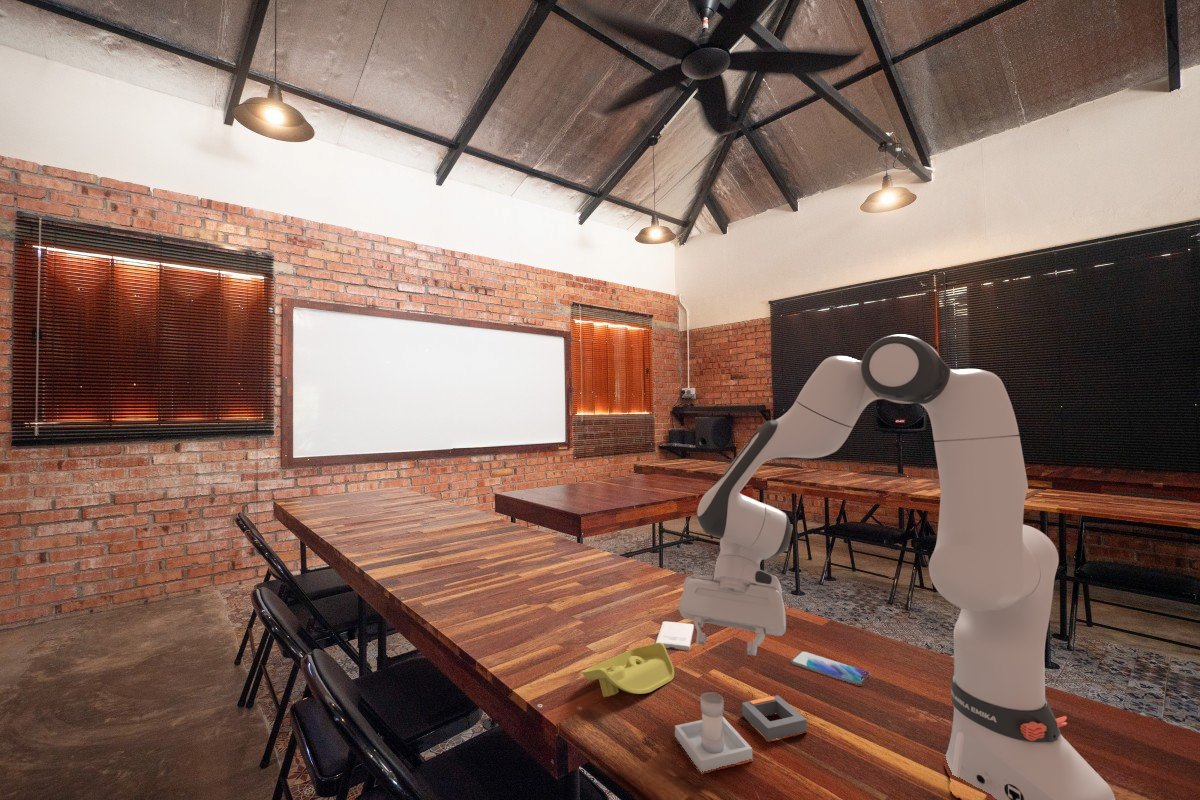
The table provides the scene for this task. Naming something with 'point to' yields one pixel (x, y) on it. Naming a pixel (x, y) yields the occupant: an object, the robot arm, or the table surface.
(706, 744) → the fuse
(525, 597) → the table surface
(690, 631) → the external hard drive
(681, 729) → the tray
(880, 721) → the table surface
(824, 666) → the smartphone
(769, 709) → the block
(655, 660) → the plastic component
